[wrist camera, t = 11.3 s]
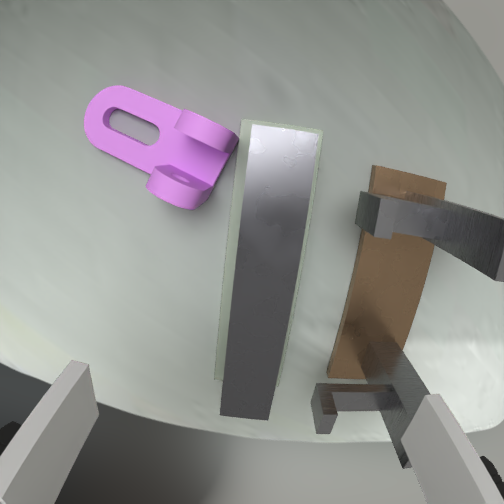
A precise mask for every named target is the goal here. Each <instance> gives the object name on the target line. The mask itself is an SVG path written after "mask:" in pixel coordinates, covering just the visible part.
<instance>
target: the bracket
mask: <svg viewBox="0 0 504 504" xmlns="http://www.w3.org/2000/svg"><path fill="white" fill-rule="evenodd" d="M116 109H122V110H124V111H126V112H129V113H131V114H133V115H135V116H138V117H140V118H142V119H144V120H147V121H149V122H151V123H153V124H155V125H156V126H157V127H158V128H159V131H160V136H159V139H158V141H157V142H156V143H155V144H153V145H151V146H149V145H147V144H145V143H142V142H140V141H138V140H136V139H134V138H132V137H130V136H128V135H126V134H123V133H121V132H119V131H117V130H115V129H113V128H112V127H111V126H110V124H109V117H110V115H111V113H112V112H113V111H114V110H116ZM84 128H85V133H86V135H87V137H88V139H89V141H90V142H91V143H92V144H93V145H94V146H95V147H97V148H99V149H101V150H103V151H105V152H107V153H109V154H111V155H113V156H115V157H117V158H119V159H121V160H123V161H125V162H127V163H129V164H131V165H133V166H135V167H137V168H139V169H141V170H143V171H145V172H147V173H149V174H151V176H150V178H149V180H148V182H147V184H146V188H147V189H148V190H149V191H150V192H151V193H152V194H154V195H155V196H157V197H159V198H161V199H162V200H164V201H166V202H168V203H171V204H173V205H176V206H178V207H181V208H185V209H190V210H194V209H196V208H197V207H199V206H200V205H201V204H202V203H204V202H205V201H206V200H207V199H208V197H209V195H210V193H211V191H212V189H213V187H214V185H215V183H216V182H217V180H218V178H219V176H220V174H221V172H222V170H223V168H224V166H225V164H226V163H227V161H228V159H229V157H230V155H231V153H232V151H233V149H234V148H235V146H236V144H237V142H238V140H239V138H238V137H237V136H236V134H235V133H233V132H232V131H230V130H228V129H226V128H225V127H223V126H221V125H219V124H217V123H215V122H213V121H211V120H209V119H207V118H205V117H203V116H200V115H198V114H196V113H194V112H191V111H189V110H186V109H183V111H182V110H180V109H177V108H175V107H173V106H171V105H168V104H166V103H164V102H161V101H159V100H157V99H154V98H152V97H150V96H147V95H145V94H143V93H140V92H138V91H135V90H133V89H130V88H128V87H125V86H111V87H108V88H105V89H104V90H102V91H100V92H99V93H98V94H97V95H96V96H95V97H94V98H93V99H92V100H91V102H90V103H89V105H88V107H87V110H86V113H85V117H84Z"/></svg>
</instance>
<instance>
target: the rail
mask: <svg viewBox="0 0 504 504" xmlns="http://www.w3.org/2000/svg"><path fill="white" fill-rule="evenodd" d="M318 137H319V134H317V133H311V132H305V131H298V130H292V129H285V128H278V127H270V126H262V125H254V124H252V129H251V137H250V145H249V153H248V161H247V170H246V178H245V186H244V194H243V203H242V211H241V220H240V228H239V237H238V246H237V255H236V263H235V272H234V281H233V291H232V300H231V309H230V319H229V328H228V338H227V347H226V357H225V367H224V377H223V387H222V397H221V408H220V415H222V416H230V417H238V418H248V419H259V420H268V418H269V413H270V409H271V404H272V400H273V396H274V391H275V386H276V382H277V377H278V373H279V368H280V363H281V358H282V353H283V349H284V344H285V339H286V334H287V329H288V323H289V318H290V313H291V308H292V302H293V297H294V292H295V286H296V281H297V275H298V269H299V263H300V258H301V252H302V246H303V240H304V234H305V227H306V221H307V215H308V208H309V202H310V195H311V188H312V181H313V174H314V167H315V160H316V152H317V144H318Z"/></svg>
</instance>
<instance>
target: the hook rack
mask: <svg viewBox="0 0 504 504" xmlns="http://www.w3.org/2000/svg"><path fill="white" fill-rule="evenodd" d="M445 190H446V183H445V182H442V181H438V180H434V179H430V178H427V177H423V176H419V175H415V174H411V173H407V172H402V171H398V170H394V169H390V168H385V167H381V166H375V165H372V172H371V179H370V185H369V191H368V192H363V191H360V198H359V203H358V209H357V215H356V221H355V224H357V225H358V226H359V227H361V228H362V231H361V236H360V241H359V246H358V251H357V256H356V260H355V265H354V269H353V274H352V278H351V283H350V287H349V291H348V295H347V299H346V303H345V307H344V311H343V315H342V319H341V323H340V327H339V330H338V334H337V338H336V341H335V345H334V349H333V352H332V356H331V359H330V362H329V366H328V369H327V375H328V378H343V379H366V380H367V382H368V384H327V383H316V386H315V390H314V393H313V396H312V399H311V407H312V412H313V418H314V423H315V429H316V434H330V433H331V430H332V428H333V425H334V423H335V421H336V418H337V416H338V414H337V411H380V413H381V416H382V418H383V420H384V423H385V425H386V428H387V430H388V433H389V435H390V438H391V440H392V443H393V445H394V448H395V450H396V453H397V455H398V458H399V460H400V463H401V466H402V468H403V469H405V468H411V467H412V465H411V463H410V460H409V458H408V456H407V453H406V451H405V449H404V446H403V444H402V442H401V438H402V437H403V435H404V433H405V431H406V430H407V428H408V426H409V424H410V423H411V421H412V419H413V417H414V415H415V414H416V412H417V410H418V408H419V406H420V404H421V402H422V400H423V398H424V396H425V395H431V394H430V393H429V391H428V389H427V388H426V386H425V385H424V383H423V382H422V380H421V378H420V377H419V375H418V374H417V372H416V371H415V369H414V368H413V366H412V365H411V363H410V361H409V360H408V358H407V357H406V355H405V354H404V352H403V351H402V350H403V348H404V345H405V342H406V340H407V337H408V334H409V331H410V328H411V325H412V322H413V319H414V316H415V313H416V310H417V307H418V304H419V301H420V297H421V294H422V291H423V287H424V284H425V280H426V277H427V273H428V269H429V265H430V261H431V257H432V253H433V249H434V245H436V246H438V247H439V248H441V249H443V250H445V251H446V252H448V253H450V254H452V255H453V256H455V257H457V258H458V259H460V260H462V261H463V262H465V263H467V264H469V265H470V266H472V267H474V268H475V269H477V270H478V271H480V272H482V273H483V274H485V275H487V276H488V277H490V278H491V279H493V280H495V281H501V282H504V218H501V217H498V216H495V215H492V214H489V213H486V212H483V211H480V210H476V209H473V208H470V207H467V206H463V205H460V204H456V203H453V202H449V201H446V200H444V196H445Z"/></svg>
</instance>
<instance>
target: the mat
mask: <svg viewBox="0 0 504 504" xmlns="http://www.w3.org/2000/svg"><path fill="white" fill-rule="evenodd" d="M252 124H254V125H262V126H270V127H278V128H285V129H292V130H298V131H305V132H311V133H317V134H319V137H318V144H317V152H316V160H315V167H314V174H313V181H312V188H311V195H310V202H309V208H308V215H307V221H306V227H305V234H304V240H303V246H302V252H301V258H300V263H299V269H298V275H297V281H296V286H295V292H294V297H293V302H292V308H291V313H290V318H289V323H288V329H287V334H286V339H285V344H284V349H283V353H282V358H281V363H280V368H279V373H278V377H277V382H276V386H277V387H278V386H279V381H280V377H281V372H282V367H283V363H284V358H285V354H286V349H287V344H288V339H289V334H290V329H291V325H292V319H293V314H294V309H295V304H296V299H297V294H298V288H299V283H300V277H301V272H302V266H303V261H304V255H305V249H306V243H307V237H308V231H309V225H310V219H311V213H312V206H313V200H314V193H315V186H316V180H317V173H318V165H319V158H320V151H321V143H322V135H323V130H317V129H311V128H305V127H299V126H293V125H286V124H279V123H272V122H264V121H256V120H247V119H242V120H241V127H240V135H239V143H238V151H237V159H236V168H235V176H234V184H233V193H232V202H231V211H230V220H229V229H228V238H227V247H226V257H225V267H224V277H223V287H222V297H221V307H220V318H219V329H218V340H217V352H216V364H215V376H214V380H222V381H223V377H224V367H225V357H226V347H227V338H228V328H229V319H230V309H231V300H232V291H233V281H234V272H235V263H236V255H237V246H238V237H239V228H240V220H241V211H242V203H243V194H244V186H245V178H246V170H247V161H248V153H249V145H250V137H251V129H252Z"/></svg>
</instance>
